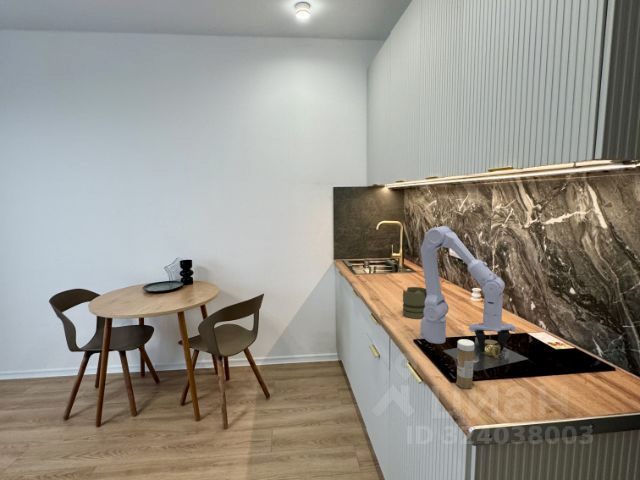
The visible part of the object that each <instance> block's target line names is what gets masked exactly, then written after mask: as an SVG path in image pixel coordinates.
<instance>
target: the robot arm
mask: <svg viewBox="0 0 640 480" xmlns="http://www.w3.org/2000/svg"><path fill="white" fill-rule="evenodd" d="M441 247H443V248H447V249H451V250H452V251H453V252H454V253H455V254H456V255H457V256H458V257H459V258H460V259H461V260H462V261H463V262H464V263H465V264H466V265H467V271H468V273H469V274H470V275H471V276H472V277H473V278H474V279H475V280H476V282H477V283H478V284H479V285H480V286H481V290H482V293H483V294H484V296H483V297H484V299H483V314H482V315H483V316H482V317H483V318H482V322H480V323H472V324H469V326H468V327H469V331H470V332H471V333H474V334H475V336H476V337H477V339H478V342H479V347H480V350H481V352H484V350H485V340H487V334H485V332H497V342H499V343H500V345H501V351H502V350H503V348H504V347H505V346H506V343H507V341H508V340H509V339H510V337H511V336H512V335H511V332H512V333H514V332H516V326H515V325H514V324H513V323H510V324H509V323H502V322H503V321H502V320H503V303H504V302H503V292H504V290H505V288H506V284H505V281H504V280H503V278H502V277H500V276H498V275H497V274H496V273H493V271H492V270H491V269H490V268H489V267H488V263H487V262H486V261H482V260H481V259H476V258H475V256H473V254H472V253H471V252H470V250H469V249H468V248H467V247H466V245H464V243H463V241H461V240H460V238H459V237H458V235H457V233H455V232H454V231H453V230H452V229H451V228H450V227H449V226H447V225H441V226H437V227H431V228H430V229H429V230H428V231H427V232H425V234H424V238H423V241H422V244H421V246H420V254H421V255H420V256H421V263H422V268H423V269H422V270H423V276H424V277H423V278H424V284H425V289H426V292H427V297H426V299H425V308H424V311H423V313H424V316H425V317H423V318H422V319H420V331H419V332H420V336H418V339H419V340H422V339H425V340H426V341H427V342H428V343H431V344H435V345H436V344H439V345H440V344H444V343H445V342H446V340H447V339H446V336H447V335H446V334H447V332H446V331H447V317H446V315H447V314H448V312H449V308H450V307H449V304H448V303H447V302H446V297H445V296H444V294H443V293H442V287H441V286H442V285H441V281H440V280H441V279H440V273H439V266H438V258H437V251H438V250H439V249H440V248H441Z"/></svg>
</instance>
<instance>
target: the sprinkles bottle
mask: <svg viewBox="0 0 640 480" xmlns="http://www.w3.org/2000/svg"><path fill="white" fill-rule="evenodd" d="M474 344H475V341H473V340H470V339H465V338H464V339H458V340H457V344H456V345H457V347H456V348H458V360H457V364H456V365H457V367H456V385H457V386H458V387H459V388H462V389H472V388H473V385H474V384H473V377H474V375H473V374H474V370H473V351H474Z"/></svg>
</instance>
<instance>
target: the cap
mask: <svg viewBox="0 0 640 480" xmlns="http://www.w3.org/2000/svg"><path fill="white" fill-rule="evenodd" d="M500 351H501V345H500V343H499V342H498V340H493V339H485V350H484V352H483V353H484V354H486V355H489V356H493V357H494V358H499V354H497V353H498V352H500Z"/></svg>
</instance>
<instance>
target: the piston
mask: <svg viewBox="0 0 640 480" xmlns="http://www.w3.org/2000/svg"><path fill="white" fill-rule="evenodd" d="M426 297H427V292H426V287H425V288H424V287H419V286H407V288H406V290H404V289H403V290H402V316H403V317H404V318H406V319H411V320H422V318H423V317H425V316H424V313H423V311H424V308H425V299H426Z"/></svg>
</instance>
